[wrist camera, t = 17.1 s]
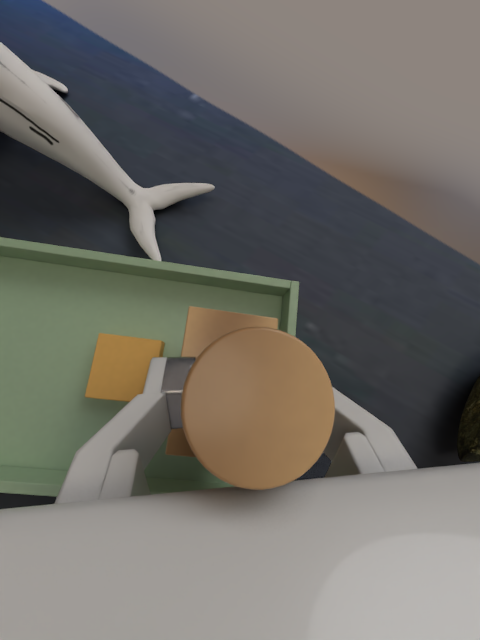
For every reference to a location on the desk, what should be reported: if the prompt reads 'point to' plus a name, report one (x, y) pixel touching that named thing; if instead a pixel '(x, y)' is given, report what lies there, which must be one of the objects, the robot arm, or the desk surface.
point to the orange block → (121, 366)
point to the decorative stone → (470, 427)
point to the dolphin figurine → (78, 145)
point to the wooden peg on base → (251, 400)
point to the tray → (80, 342)
